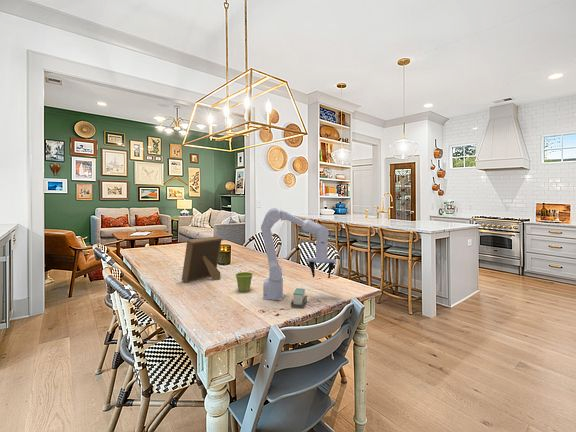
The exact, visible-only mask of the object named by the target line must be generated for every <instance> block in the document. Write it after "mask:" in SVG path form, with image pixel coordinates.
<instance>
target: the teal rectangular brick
mask: <svg viewBox="0 0 576 432" xmlns="http://www.w3.org/2000/svg"><path fill="white" fill-rule="evenodd" d="M305 292H306V288H300V287H299V288H298V287H296V288H295V289H294V292H293V293H292V294H293V295H292V297H293V299H292V300H293V304H298V305H302V303H303V301H304V299H305V296H306V295H305Z"/></svg>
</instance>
